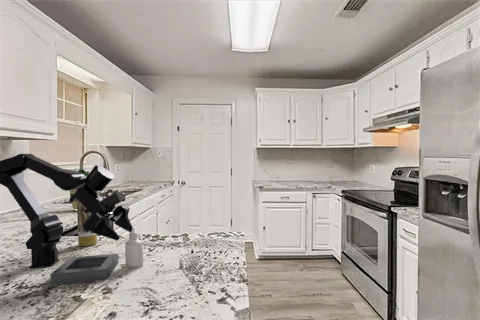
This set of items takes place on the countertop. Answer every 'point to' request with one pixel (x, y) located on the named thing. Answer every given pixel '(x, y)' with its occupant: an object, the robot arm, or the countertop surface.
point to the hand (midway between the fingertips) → (126, 235)
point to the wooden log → (83, 236)
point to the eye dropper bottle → (133, 251)
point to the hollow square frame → (85, 269)
